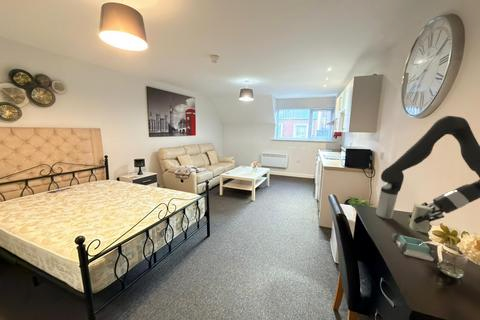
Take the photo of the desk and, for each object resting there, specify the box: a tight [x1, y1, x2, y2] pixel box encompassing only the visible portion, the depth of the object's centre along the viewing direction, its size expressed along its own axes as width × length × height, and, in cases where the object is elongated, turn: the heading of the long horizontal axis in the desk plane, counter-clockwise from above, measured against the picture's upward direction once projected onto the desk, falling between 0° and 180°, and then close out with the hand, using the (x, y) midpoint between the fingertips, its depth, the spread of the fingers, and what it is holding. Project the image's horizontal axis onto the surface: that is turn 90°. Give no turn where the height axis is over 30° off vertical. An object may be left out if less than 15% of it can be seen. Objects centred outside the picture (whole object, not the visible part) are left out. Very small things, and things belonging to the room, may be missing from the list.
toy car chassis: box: [391, 233, 438, 262], centre depth 99 cm, size 14×13×4 cm
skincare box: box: [408, 203, 433, 234], centre depth 96 cm, size 6×4×12 cm
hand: (412, 219), depth 97 cm, fingers closed on skincare box, 4 cm apart
